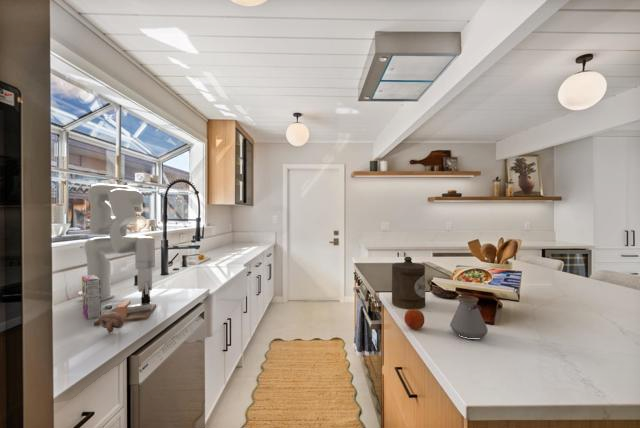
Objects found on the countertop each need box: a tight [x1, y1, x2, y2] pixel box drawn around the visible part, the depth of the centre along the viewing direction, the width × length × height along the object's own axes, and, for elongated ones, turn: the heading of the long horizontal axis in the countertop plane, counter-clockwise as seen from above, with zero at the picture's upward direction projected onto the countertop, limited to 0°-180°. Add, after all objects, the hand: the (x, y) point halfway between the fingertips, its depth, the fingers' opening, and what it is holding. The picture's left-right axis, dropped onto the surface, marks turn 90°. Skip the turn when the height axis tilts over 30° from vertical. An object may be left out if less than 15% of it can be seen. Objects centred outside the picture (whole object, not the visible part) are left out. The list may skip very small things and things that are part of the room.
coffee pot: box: [449, 294, 488, 339], centre depth 95 cm, size 21×12×15 cm, turn 161°
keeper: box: [115, 300, 132, 319], centre depth 120 cm, size 3×8×5 cm, turn 19°
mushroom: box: [98, 312, 125, 334], centre depth 105 cm, size 8×6×8 cm
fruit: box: [403, 307, 425, 331], centre depth 106 cm, size 7×7×8 cm
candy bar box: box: [81, 275, 102, 320], centre depth 125 cm, size 11×5×16 cm, turn 47°
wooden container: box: [391, 256, 426, 310], centre depth 134 cm, size 15×15×22 cm
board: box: [93, 303, 157, 327], centre depth 124 cm, size 18×18×1 cm
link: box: [101, 301, 152, 315], centre depth 123 cm, size 18×5×4 cm, turn 125°
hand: (145, 305), depth 129 cm, fingers closed
